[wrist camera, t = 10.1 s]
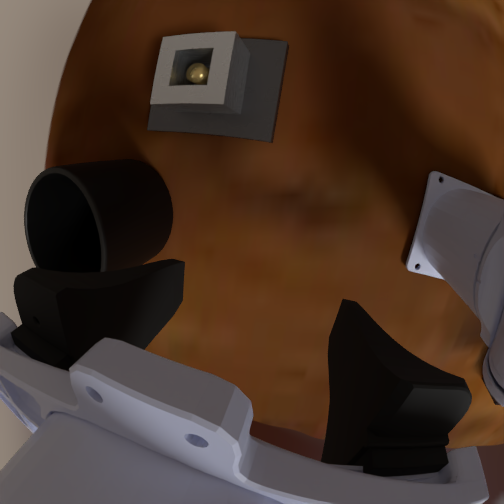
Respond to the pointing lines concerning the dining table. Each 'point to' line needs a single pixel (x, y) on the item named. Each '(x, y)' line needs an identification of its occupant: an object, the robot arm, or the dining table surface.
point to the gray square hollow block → (219, 80)
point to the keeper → (254, 101)
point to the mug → (97, 216)
